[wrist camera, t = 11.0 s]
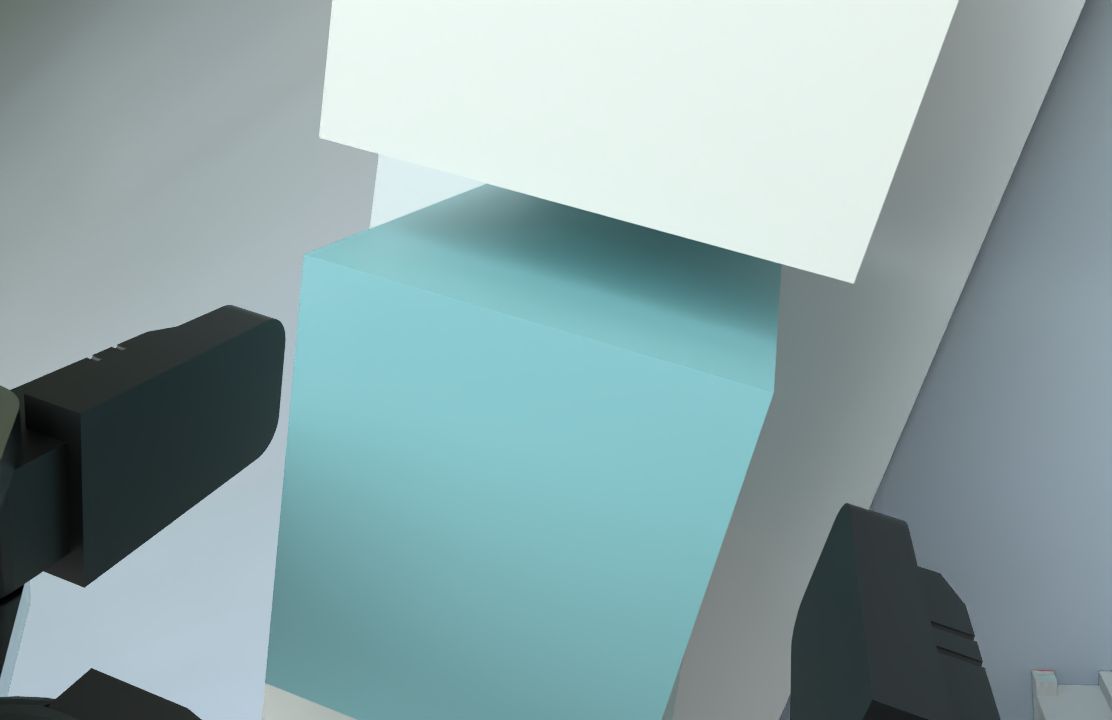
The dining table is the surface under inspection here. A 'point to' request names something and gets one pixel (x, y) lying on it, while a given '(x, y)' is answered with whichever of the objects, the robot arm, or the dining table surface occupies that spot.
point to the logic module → (512, 460)
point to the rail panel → (846, 343)
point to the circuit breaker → (1071, 698)
